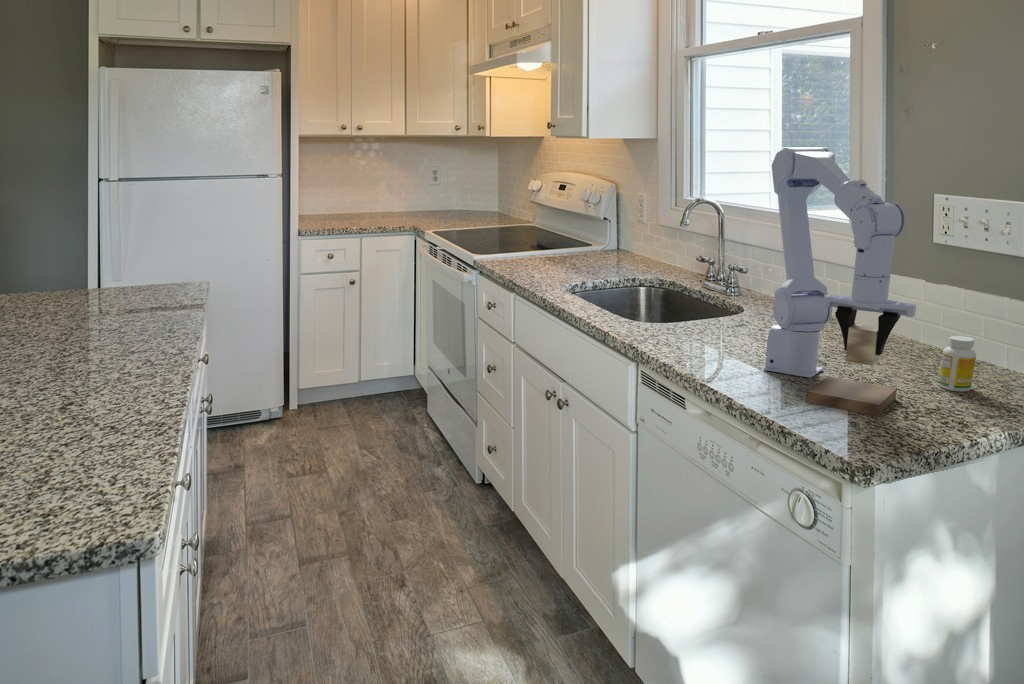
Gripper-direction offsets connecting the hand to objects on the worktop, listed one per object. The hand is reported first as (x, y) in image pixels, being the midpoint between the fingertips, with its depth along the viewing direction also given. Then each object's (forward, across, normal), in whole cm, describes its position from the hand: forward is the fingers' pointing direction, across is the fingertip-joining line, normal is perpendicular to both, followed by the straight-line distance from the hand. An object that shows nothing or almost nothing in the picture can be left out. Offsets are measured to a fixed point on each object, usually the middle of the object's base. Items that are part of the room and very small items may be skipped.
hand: (863, 351), depth 136 cm
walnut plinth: (+9, -1, -1) cm, 9 cm away
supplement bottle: (+9, +12, +19) cm, 24 cm away
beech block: (+2, 0, 0) cm, 2 cm away
